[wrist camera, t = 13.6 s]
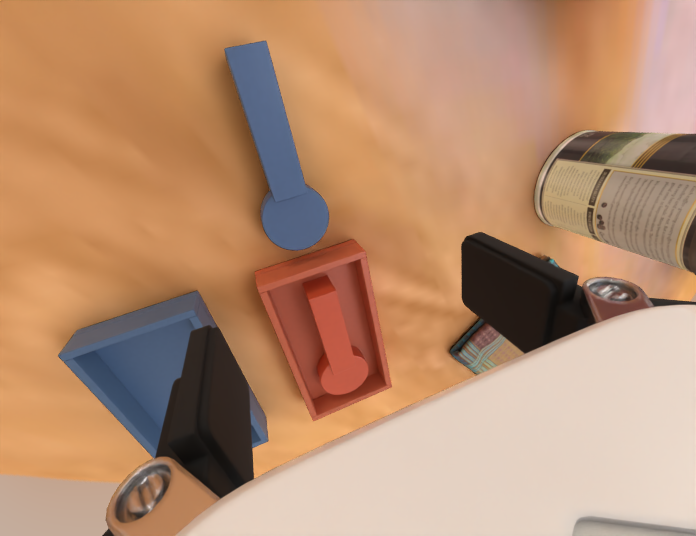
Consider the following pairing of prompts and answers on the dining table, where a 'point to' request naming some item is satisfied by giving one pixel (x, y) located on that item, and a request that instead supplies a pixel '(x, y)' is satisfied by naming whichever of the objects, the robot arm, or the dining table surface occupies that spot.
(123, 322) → the blue tray
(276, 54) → the dining table surface
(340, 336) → the terracotta spoon
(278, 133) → the blue spoon
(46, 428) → the dining table surface
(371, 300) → the terracotta tray
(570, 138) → the coffee can
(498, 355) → the dish towel
